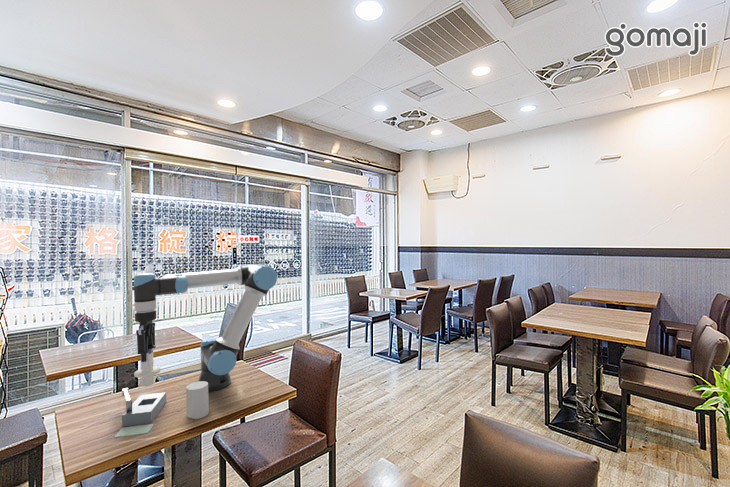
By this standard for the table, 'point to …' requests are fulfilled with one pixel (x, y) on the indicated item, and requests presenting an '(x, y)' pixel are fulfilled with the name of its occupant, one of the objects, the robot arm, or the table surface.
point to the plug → (148, 371)
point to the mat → (134, 430)
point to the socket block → (144, 409)
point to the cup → (197, 399)
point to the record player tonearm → (127, 400)
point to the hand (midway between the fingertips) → (147, 366)
